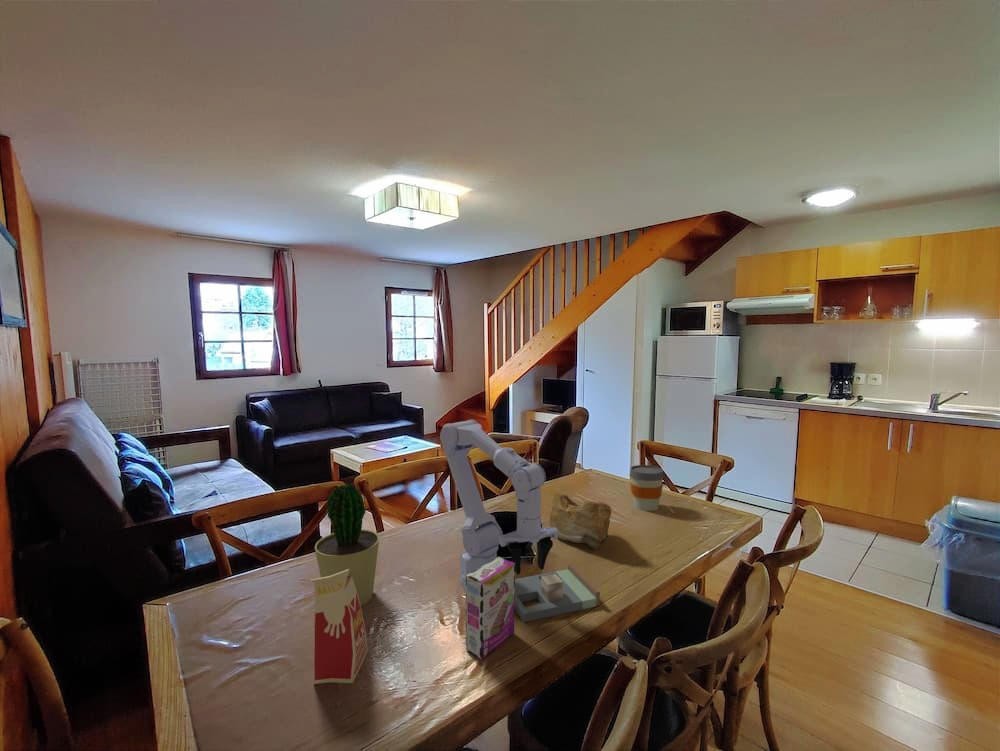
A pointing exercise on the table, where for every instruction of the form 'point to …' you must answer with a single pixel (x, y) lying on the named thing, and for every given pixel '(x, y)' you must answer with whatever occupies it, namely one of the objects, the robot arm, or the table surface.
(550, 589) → the block
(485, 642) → the candy bar box
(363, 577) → the potted cactus
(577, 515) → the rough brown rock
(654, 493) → the reusable coffee cup
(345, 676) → the milk carton
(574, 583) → the board
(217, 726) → the table surface
